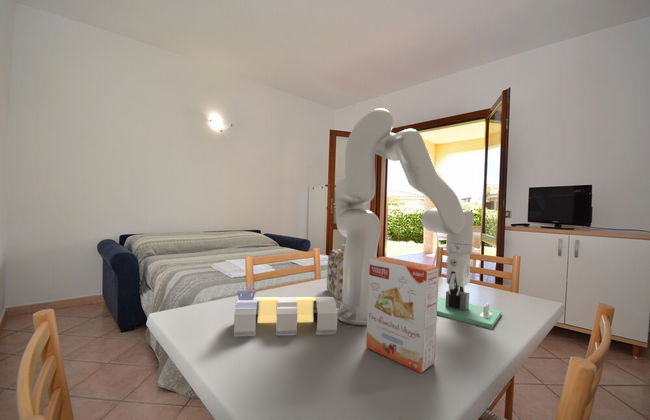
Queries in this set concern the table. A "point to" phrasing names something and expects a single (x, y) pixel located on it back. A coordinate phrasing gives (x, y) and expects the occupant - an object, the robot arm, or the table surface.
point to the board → (470, 314)
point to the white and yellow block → (283, 313)
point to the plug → (463, 301)
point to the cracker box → (403, 311)
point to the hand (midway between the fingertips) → (456, 305)
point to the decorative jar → (335, 272)
